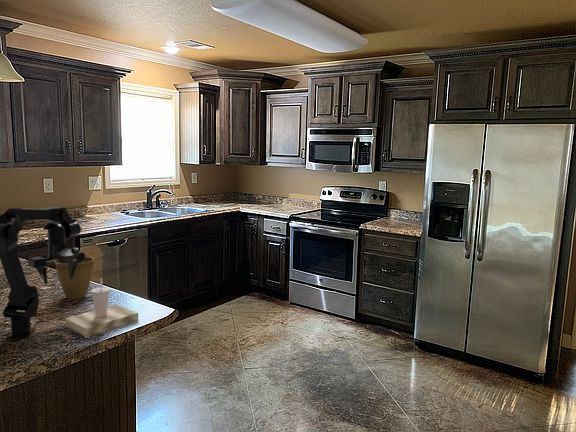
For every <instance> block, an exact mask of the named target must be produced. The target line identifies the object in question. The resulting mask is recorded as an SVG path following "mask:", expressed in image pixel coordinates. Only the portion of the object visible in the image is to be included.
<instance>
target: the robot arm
mask: <svg viewBox="0 0 576 432" xmlns="http://www.w3.org/2000/svg"><path fill="white" fill-rule="evenodd" d="M25 220H41V221H44V222H47V224H46V225H45V226H44V227H43V230H44V231H47V242H46V246H47V248H48V253H47V254H46V256H47V257H42V256H34V257H29V259H28V260H27V266H28V267H31V268H32V269H35V270H36V271H37V272H38V274H39V276H40V278H41V280H42V281H43V283H44V284H45V285H47V284H48V274H47V270H48V266H47V264H49V263H55V262H57V261H59V262H60V263H61V264H65V263H68V271H69V278H70V279H72V277H73V274H74V272H75V269H76V267H77V265H78V264H79V263H80V262H82V260H85V259H86V257H87V256H86V253H85V252H83V251H81V250H79V248H78V247H72V248H69V244H68V243H67V241H66V239H68V238H72V237H76V236H78V235H80V234H81V231H82V227H81V225H80V223H79V222H78V221H77V219H76V218H72V217H71V215H70V214H69V211H68V210H67V208H66V207H64V206H49V205H48V206H44V207H41V208H23V207H9V208H7V209H6V210H5V211H4V213H2V214H1V215H0V262H1V265H2V269H3V271H4V275H5V277H6V280H7V283H8V286H9V289H10V290H9V293H8V296H7V298H8V302H7V304H6V305H5V307H4V309H3V310H2V316H3V318H8V319H10V331H11V332H10V333H9V334H8V335H7V336H6V338H7V339H10V338H11V339H12V338H14V339H15V338H28V337H29V336H31V335H32V334H33V333H34V332H36V328H32V322H31V321H32V318H33V317H36V316H37V314H38V309H39V306H40V305H39V304H40V298H39V297H40V295H39V293H38V288H37V287H36V286H35V285H34V286H33V285H29V283H28V282H27V279H26V276H25V275H26V274H25V272H24V270H23V267H22V264H21V260H20V258H19V253H18V252H17V248H16V246H17V244H18V241H19V237H18V235H19V234H20V232H21V231H22V230H23V226H24V225H23V224H24V221H25ZM12 221H13V223H12V224H11V222H12ZM9 223H10V224H9Z"/></svg>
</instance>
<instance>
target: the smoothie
mask: <svg viewBox="0 0 576 432" xmlns="http://www.w3.org/2000/svg"><path fill="white" fill-rule="evenodd" d="M99 280H100V287H99V286H98V287H95V288H92V289H90V295H91V297H92V303H93V309H94V310H95V316H96V317H105V316H106V315H107V307H109V305H108V304H109V298H110V297H109V295H110V292H111V289H110V288H109V287H107V286H106V287H105V286H103V277H100V279H99ZM94 310H93V311H94Z"/></svg>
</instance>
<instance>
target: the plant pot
mask: <svg viewBox="0 0 576 432" xmlns="http://www.w3.org/2000/svg"><path fill="white" fill-rule="evenodd" d="M85 257H86V259H85V260H82V262H80V263H79V264H78V265H77V267H76V269H75V272H74V274H73V277H72V279H70V278H69V271H68V263H65V264H61V263H60V262H59V261H57V262H54V265H55V270H56V273H57V274H56V275H57V276H58V277H57V278H58V280H59V283H60V284H59V285H60V286H61V289H62V291H63V293H64V295H65V297H66V298H67V299H68V300H77V299H82V298H85V296H86V295H87V293H88V290H89V288H90V287H89V286H90V283H91V281H92V275H93V270H94V264H95V258H94V257H92V256H85Z"/></svg>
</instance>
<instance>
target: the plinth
mask: <svg viewBox="0 0 576 432" xmlns="http://www.w3.org/2000/svg"><path fill="white" fill-rule="evenodd" d="M138 321H139V312H138V311H135V310H132V309H130V308H128V307H125V306H122V305H120V304H118V303H117V304H113V305H108V307H107V315H106V316H105V317H96V316H95V310H92V311H87V312H83V313H80V314H77V315H76V314H75V315H72V316H70V317H66V318H64V323H65V324H64V326H65V327H66V328H67V329H70V330H71V331H73V332H75V333H77V334H80V335H81V336H84V337H85V338H87V337H91V336H94V335H97V334H100V333H104V332H107V331H110V330H113V329H117V328H119V327H122V326H126V325H129V324H133V323H136V322H138Z"/></svg>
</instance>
